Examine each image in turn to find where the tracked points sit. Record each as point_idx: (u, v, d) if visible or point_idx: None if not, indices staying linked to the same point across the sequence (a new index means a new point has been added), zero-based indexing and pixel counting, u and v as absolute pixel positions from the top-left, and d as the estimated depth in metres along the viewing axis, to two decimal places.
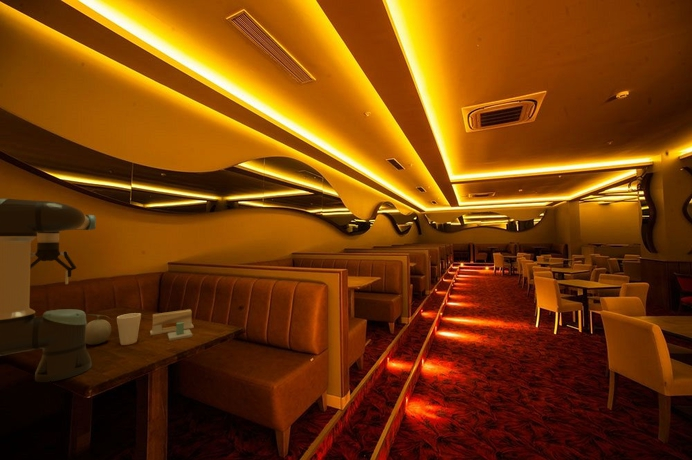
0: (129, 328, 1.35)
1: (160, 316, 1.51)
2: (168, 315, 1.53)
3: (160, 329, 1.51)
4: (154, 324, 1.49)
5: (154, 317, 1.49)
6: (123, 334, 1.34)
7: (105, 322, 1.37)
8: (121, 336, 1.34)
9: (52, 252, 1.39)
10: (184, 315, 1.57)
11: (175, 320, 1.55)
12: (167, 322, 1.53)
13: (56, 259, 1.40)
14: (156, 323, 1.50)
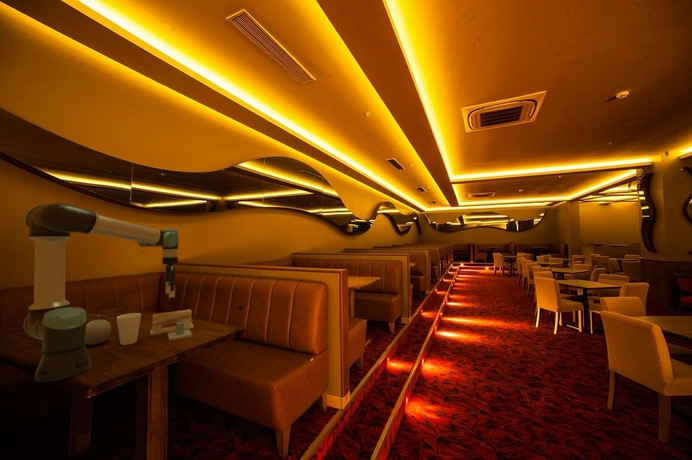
0: (129, 328, 1.35)
1: (160, 316, 1.51)
2: (168, 315, 1.53)
3: (160, 329, 1.51)
4: (154, 324, 1.49)
5: (154, 317, 1.49)
6: (123, 334, 1.34)
7: (105, 322, 1.37)
8: (121, 336, 1.34)
9: (168, 266, 1.55)
10: (184, 315, 1.57)
11: (175, 320, 1.55)
12: (167, 322, 1.53)
13: None
14: (156, 323, 1.50)
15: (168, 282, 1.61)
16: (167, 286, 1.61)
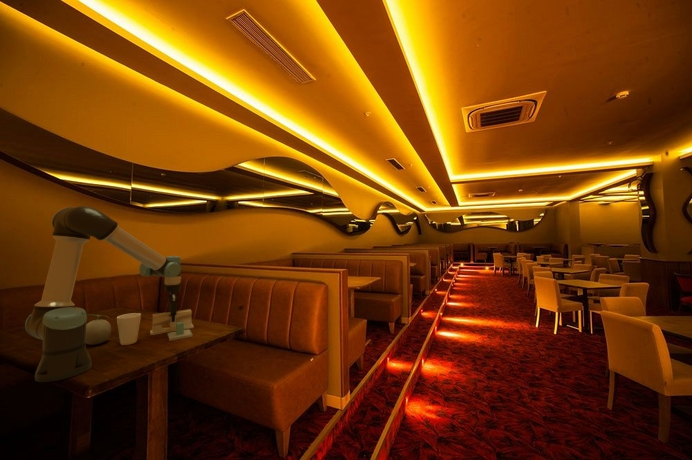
0: (129, 328, 1.35)
1: (160, 316, 1.51)
2: (168, 315, 1.53)
3: (160, 329, 1.51)
4: (154, 324, 1.49)
5: (154, 317, 1.49)
6: (123, 334, 1.34)
7: (105, 322, 1.37)
8: (121, 336, 1.34)
9: (170, 293, 1.54)
10: (184, 315, 1.57)
11: None
12: (167, 322, 1.53)
13: None
14: (156, 323, 1.50)
15: None
16: None
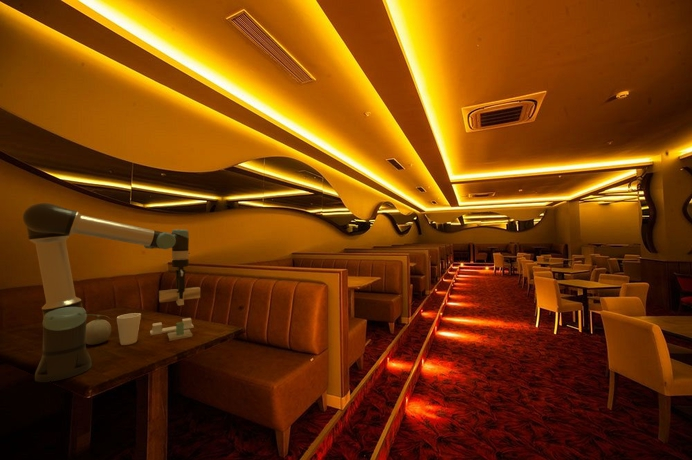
0: (129, 328, 1.35)
1: (167, 292, 1.41)
2: (176, 292, 1.43)
3: (160, 329, 1.51)
4: (161, 301, 1.40)
5: (161, 293, 1.40)
6: (123, 334, 1.34)
7: (105, 322, 1.37)
8: (121, 336, 1.34)
9: (178, 268, 1.45)
10: (192, 292, 1.48)
11: None
12: (175, 299, 1.43)
13: (177, 277, 1.44)
14: (163, 300, 1.40)
15: None
16: None
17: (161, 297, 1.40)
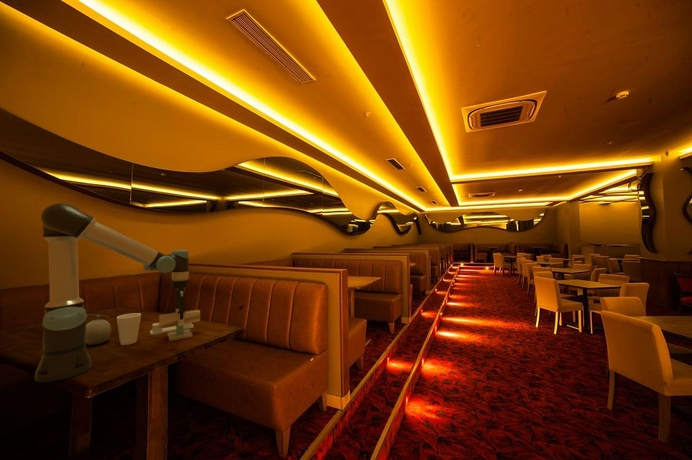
0: (129, 328, 1.35)
1: (167, 317, 1.41)
2: (175, 316, 1.43)
3: (160, 329, 1.51)
4: (161, 326, 1.39)
5: (161, 318, 1.39)
6: (123, 334, 1.34)
7: (105, 322, 1.37)
8: (121, 336, 1.34)
9: (178, 290, 1.45)
10: (192, 316, 1.47)
11: None
12: (174, 323, 1.43)
13: (177, 298, 1.43)
14: (163, 324, 1.40)
15: (178, 309, 1.50)
16: None
17: (161, 322, 1.39)
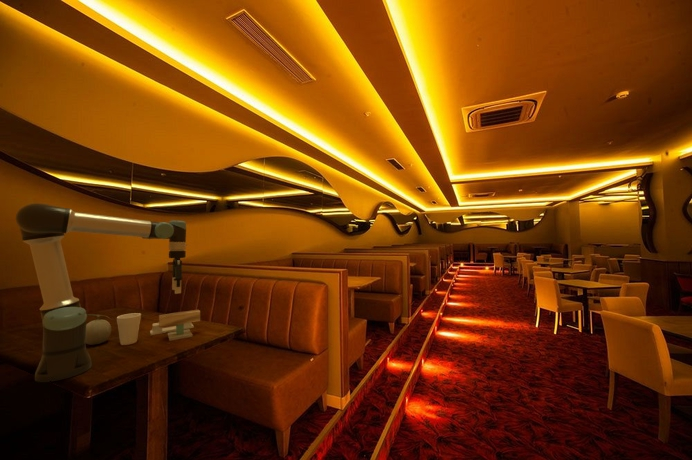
0: (129, 328, 1.35)
1: (167, 317, 1.41)
2: (175, 316, 1.43)
3: (160, 329, 1.51)
4: (161, 326, 1.39)
5: (161, 318, 1.39)
6: (123, 334, 1.34)
7: (105, 322, 1.37)
8: (121, 336, 1.34)
9: (174, 260, 1.45)
10: (192, 316, 1.47)
11: (183, 322, 1.45)
12: (174, 323, 1.43)
13: (173, 267, 1.43)
14: (163, 324, 1.40)
15: (175, 278, 1.52)
16: (173, 282, 1.51)
17: (161, 322, 1.39)
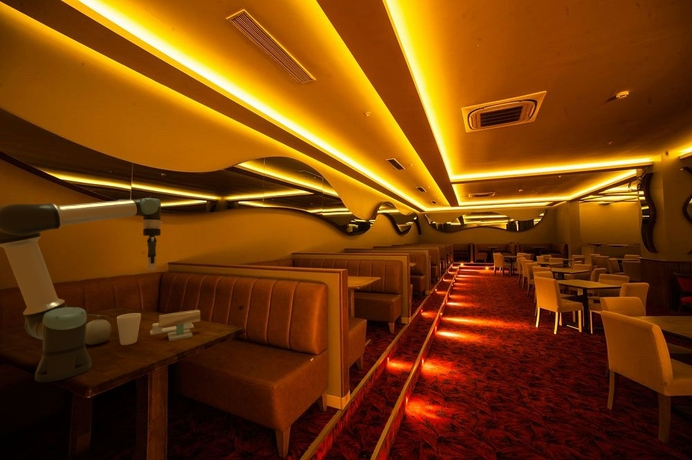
0: (129, 328, 1.35)
1: (167, 317, 1.41)
2: (175, 316, 1.43)
3: (160, 329, 1.51)
4: (161, 326, 1.39)
5: (161, 318, 1.39)
6: (123, 334, 1.34)
7: (105, 322, 1.37)
8: (121, 336, 1.34)
9: (149, 238, 1.45)
10: (192, 316, 1.47)
11: (183, 322, 1.45)
12: (174, 323, 1.43)
13: (148, 244, 1.44)
14: (163, 324, 1.40)
15: None
16: None
17: (161, 322, 1.39)
